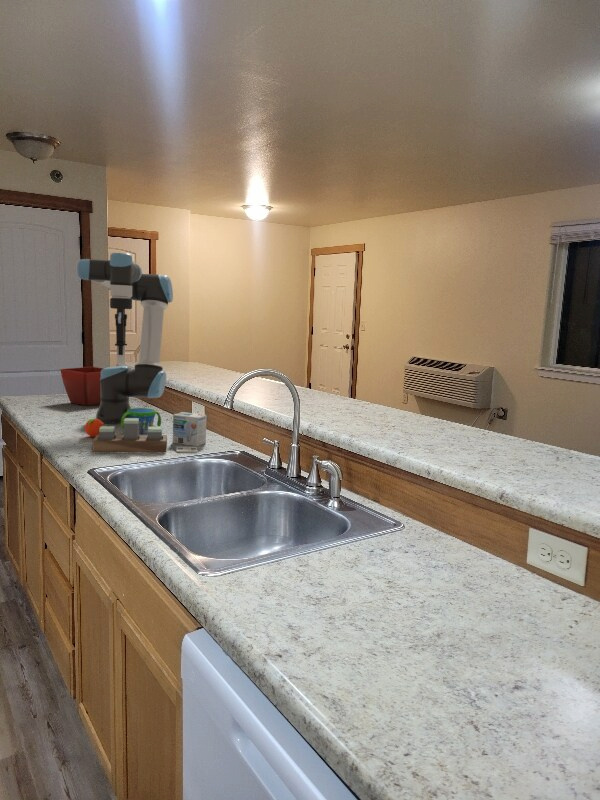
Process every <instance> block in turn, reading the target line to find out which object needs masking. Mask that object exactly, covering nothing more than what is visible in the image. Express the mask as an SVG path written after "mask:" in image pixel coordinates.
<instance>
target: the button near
mask: <svg viewBox="0 0 600 800" xmlns="http://www.w3.org/2000/svg"><path fill="white" fill-rule="evenodd" d="M115 435H116V426H111V425H109V426H107V425H104V426H101V427H100V429H99V439H115Z"/></svg>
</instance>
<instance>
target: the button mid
mask: <svg viewBox="0 0 600 800" xmlns="http://www.w3.org/2000/svg"><path fill="white" fill-rule="evenodd" d="M123 435H124V440H138V438H139V418H125V419H124V429H123Z"/></svg>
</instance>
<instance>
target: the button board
mask: <svg viewBox="0 0 600 800" xmlns="http://www.w3.org/2000/svg"><path fill="white" fill-rule="evenodd" d="M167 448H168V434H162V440H148V435H139V438H138V440H124V434H115V439H99V435H96V437H93V440H92V453H93V452H95V453H96V452H166V453H167Z"/></svg>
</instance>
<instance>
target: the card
mask: <svg viewBox="0 0 600 800" xmlns="http://www.w3.org/2000/svg"><path fill="white" fill-rule="evenodd" d="M177 452H180V453H181V454H182V453H183V454H184V453H186V454H187V453H189V454H193V453H195V454H197V453H198V446H176V453H177Z"/></svg>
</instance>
